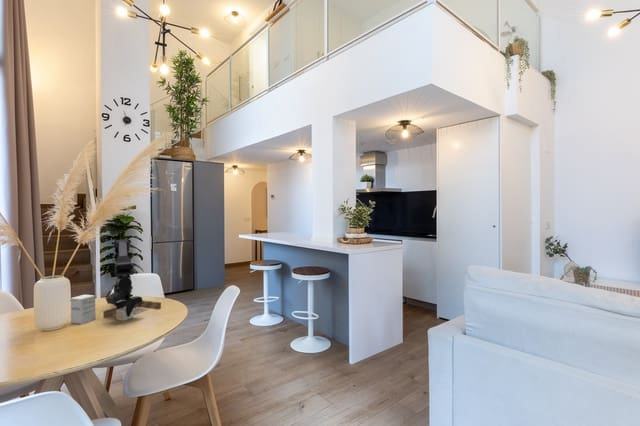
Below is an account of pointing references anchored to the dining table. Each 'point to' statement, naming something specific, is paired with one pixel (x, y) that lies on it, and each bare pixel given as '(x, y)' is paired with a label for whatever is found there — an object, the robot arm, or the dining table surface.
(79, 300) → the supplement box
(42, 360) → the dining table surface
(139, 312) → the tile
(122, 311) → the sage cube
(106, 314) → the block
